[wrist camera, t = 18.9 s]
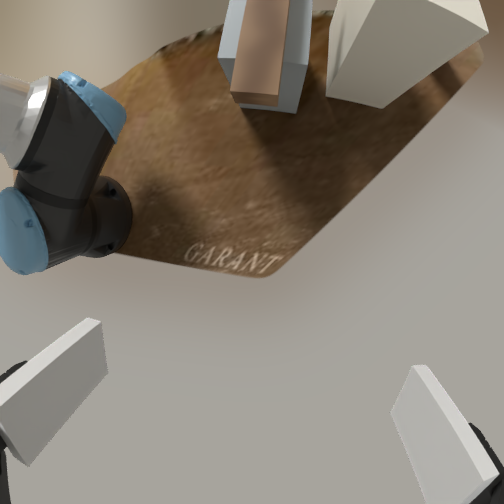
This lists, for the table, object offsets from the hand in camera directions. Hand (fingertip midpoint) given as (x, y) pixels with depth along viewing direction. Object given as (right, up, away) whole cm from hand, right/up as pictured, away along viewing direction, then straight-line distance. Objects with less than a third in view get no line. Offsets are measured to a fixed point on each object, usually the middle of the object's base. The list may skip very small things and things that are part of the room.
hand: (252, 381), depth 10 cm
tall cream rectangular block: (+18, +37, +28) cm, 50 cm away
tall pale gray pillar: (+3, +34, +30) cm, 45 cm away
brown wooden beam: (+2, +30, +12) cm, 32 cm away
